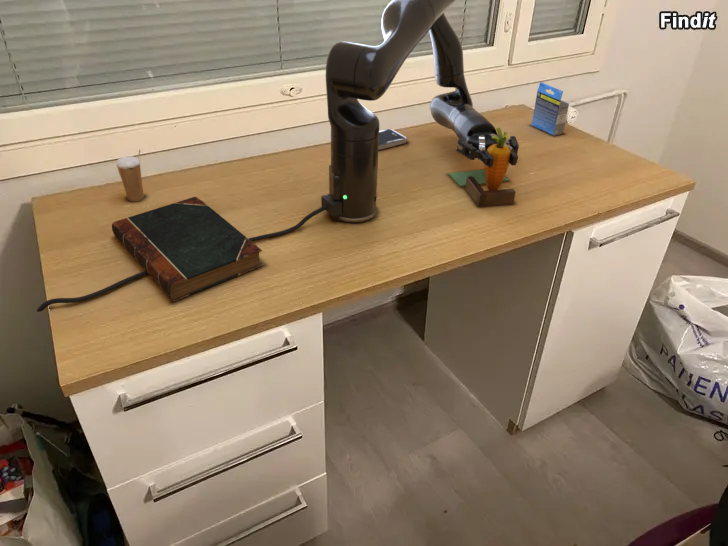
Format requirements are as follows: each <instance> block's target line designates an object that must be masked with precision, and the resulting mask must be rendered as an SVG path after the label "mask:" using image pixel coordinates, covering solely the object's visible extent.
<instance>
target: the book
mask: <svg viewBox="0 0 728 546" xmlns="http://www.w3.org/2000/svg"><path fill="white" fill-rule="evenodd" d="M111 230H112V233H113V235H114V237H115V238H116V239H117V241H119V242H120V244H121V245H122V246H123V247H124V248H125V250H127V251H128V253H129V254H130V255H131V256H132V257H133V258H134V259H135V260H136V261H137V262H138V264H139V265H140V266H141V267H142V268H143V269H144V271H145V270H147V272H148V273H149V274H148V275H149V276H150V277H151V278H152V279H153V280H154V282H156V284H157V285H158V286H159V287H160V288H161V289H162V291H163V292H164V293H165V294H166V295H167V296H168V297H169V298H170V299H171V300H172V301H173V302H177V301H180V300H182V299H184V298H187V297H189V296H192V295H194V294H197V293H200V292H201V291H204V290H207V289H210V288H212V287H214V286H217V285H219V284H222V283H225V282H227V281H229V280H231V279H234V278H236V277H238V276H241V275H244V274H246V273H248V272H251V271H253V270H256V269H257V268H261V267H263V266H264V263H263V262H261V259H260V253H261V252H263V250H262V249H261V248H260V247H259V246H258V245H257V244H255V243H254V241H253V242H252V241H250V240H249V239H248V237H247V236H245V235H244V234H243V233H242V232H241V231H240V230H239V229H237V227H235V226H233V225H232V223H230V222H229V221H228V220H226V219H225V218H224V217H222V216H221V214H219V213H217V212H216V210H214V209H213V208H211V207H210V205H208V204H207V203H205V202H204V201H203V200H201V199H200V198H199V197H197V196H192V197H189V198H186V199H182V200H179V201H177V202H174V203H170V204H166V205H164V206H161V207H158V208H154V209H151V210H147V211H144V212H140V213H138V214H135V215H131V216H128V217H124V218H122V219H119V220H115V221H113V222H112V223H111Z"/></svg>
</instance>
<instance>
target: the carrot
mask: <svg viewBox="0 0 728 546" xmlns="http://www.w3.org/2000/svg"><path fill="white" fill-rule="evenodd" d="M496 132H497V134H498V136H499V138H497V137H496V136H493V137H492V139H494V140H495V141H496V143H497V144H493V145H491V146H490V147H489V148H488V149H487V151H488V152H489V153H490V155H491V156H492V157H493V166H492V167H488V166H487V165H485V164H484V169H485V180H486V184H485V185H486V188H487V190H499V189H500V187H501V185H502V184H503V183H504V182H503V179H504V177H506V174H507V171H508V167H509V164H510V163H509V159H510V154H511V151H510V149H509V148H508V147H507V146H506V145H504V143H505V141H506V139H508V138H509V137H508V132H507V131H503V132H502V128H501V127H500V126H498V127H496ZM502 137H503V140H502Z"/></svg>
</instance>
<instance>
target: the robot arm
mask: <svg viewBox="0 0 728 546" xmlns="http://www.w3.org/2000/svg"><path fill="white" fill-rule="evenodd" d="M455 2H457V0H391V1H390V2H389V3H388V4H387V6H386V7H385V8H384V10H383V12H382V17H381V23H380V24H381V25H380V27H381V33H382V36H383V40H384V41H383V42H382V43H381V44H379V45H368V44H363V43H356V42H350V41H338V42H336V43H335V44H334V45H333V46H331V48H330V50H329V53H328V55H327V58H326V64H325V89H326V90H325V91H326V105H327V118H328V122H329V126H330V164H329V165H328V178H329V179H328V181H329V182H328V183H329V184H328V191H329V192H328V194H325V195H321V202H320V203H321V206H320V207H319V208H317V209H315V210H313V211H312V212H310V213H308V214H306V215H305V216H303V218H302V219H301V220H300V221H299V222H298V223H296V224H295V225H294V226H291V227H289V228H287V229H284V230H280V231H275V232H271V233H266V234H261V235H257V236H252V237H249V238H248V237H247V238H248V239H249V240H250V241H252V242H253V243H254V242H257V241H261V240H266V239H271V238H275V237H276V238H277V237H281V236H284V235H287V234H291V233H292V232H295V231H296V230H299V229H300V228H301V227H302V226H303V225H304V224H305V223H306V222H307V221H309V220H310V219H311V218H313V217H314V216H317V215H318V214H320V213H322V212H324V211H326V212H327V213H328V214H329V215H331V217H332V220H333V221H341V222H345V223H363V222H367V221H369V220H371V219H373V218H374V217H375V216H376V215H377V200H378V191H377V190H378V170H379V169H378V168H379V167H378V166H379V150H378V148H379V131H380V119H379V118H378V116H377V115H376V114H375V113H373V112H372V111H370V110H369V109H367V107H366V106H364V105H363V104H362V103H361V102H360V100H361V101H366V102H372V101H373V102H374V101H377V100H379V99H380V98H382V97H383V96H384V95H385V93H386V92H387V91H388V89H389V88H390V86H391V84H392V83H393V81H394V79H395V78H396V76H397V74H398V73H399V71H400V70H401V68H402V66H403V65H404V63H405V62H406V60H407V58H408V57H409V56H410V55H411V53H412V52H413V51H414V50H415V48H416V47H417V46H418V44H419V43H420V42H421V41H422V40H423V39H424V37H425V36H427V34H428V33H429V36H430V41H431V47H432V55H433V65H434V66H433V68H434V79H435V83H436V85H437V86H439V87H440V88H441V87H442V88H453V89H455V90H452V91H449V92H445V93H440V94H438V95H435V96H434V97H433V98H432V99H431V101H430V104H429V112H430V115H431V117H432V120H434V121H435V122H436V123H437V124H438V125H440V126H441V127H444V128H446V129H449V130H452V131H453V133H454V134H455V136H456V137H457V138H458V139H457V143H456V149H455V150H456V152H458V154H460V155H462V156H463V157H465V158H467V160H470V161H475V160H476V159H477V160H478V161H479V162H482V164H483V165H484V166H485V165H487V166H488V167H492V166H493V157H492V156H491V155H490V153H489V152H488V151H487V149H488V148H489V147H490V146H491V145H493V144H497V143H496V141H495V140H494V139H492V137H493V136H496V137H497V138H499V136H498V133H497V128H496V127H495V126H494V124H492V123H491V122H490V121H489V119H487V118H486V117H485V116H484V115H483V114H482V113H480V112H478V111H477V110H476V109H475V108H474V104H473V100H472V99H473V98H472V97H471V94H470V91H469V88H468V85H467V82H466V77H465V64H464V49H463V46H462V43H461V41H460V38H459V37H458V35H457V33H456V31H455V30H454V28H453V27H452V25H451V24H450V22H449V20H448V19H447V16H446V14H445V12H446V10H447V9H448V8H449V7H450V6H452V5H453V4H454V3H455ZM502 140H503V136H502ZM504 145H506V146H507V147H508V148H509V149H510V151H511V154H510V159H509V164H510V165H511V167H512V166H517V163H518V160H519V155H518V154H519V153H518V152H519V149H520V145H519V142H518V140H517V137H516V136H515V135H510V136H509V137H508V138H507V139H506V141H505V143H504ZM147 275H149V273H148V272H147V270H145V269H144V270H142V271H140V272H138V273H135V274H133V275H130V276H128V277H126V278H124V279H122V280H119V281H117V282H115V283H113V284H111V285H109V286H106V287H104V288H102V289H99V290H97V291H94V292H91V293H89V294H85V295H82V296H77V297H56V298H51V299H48V300H46V301H44V302H43V303H41V304H40V305H39V306H38V308H37V309H36V312H38V313H40V312H43V311H44V310H45V309H46V308H47V307H49V306H50V305H54V304H72V303H83V302H85V301H88V300H91V299H92V300H93V299H94V298H98V297H100V296H102V295H104V294H107V293H109V292H111V291H113V290H115V289H117V288H119V287H122V286H124V285H126V284H129V283H130V282H133V281H136V280H138V279H141V278H143V277H145V276H147Z"/></svg>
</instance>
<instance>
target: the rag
mask: <svg viewBox="0 0 728 546" xmlns="http://www.w3.org/2000/svg"><path fill="white" fill-rule="evenodd" d="M448 175H449V177H450V178H451V179H452V180H453V181H454V182H455V183H456V184H457V185H458V186H459V187H460V188H464V187H465V186H466V179H467V177H470V176H473V177H474V178H475V179H476V181H477V182H478V183H479V184H480V186H482V185H486V180H485V168H484V169H483V168H482V169H475V170H466V171H459V172H449V173H448ZM504 182H509V179H508V177H506V176H505V177H504V179H503V182H502V183H504Z"/></svg>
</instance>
